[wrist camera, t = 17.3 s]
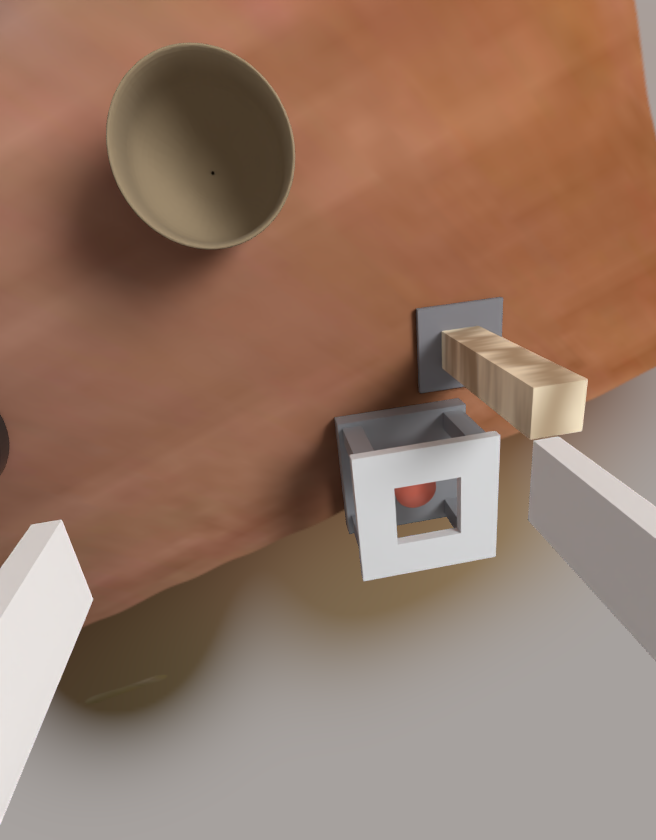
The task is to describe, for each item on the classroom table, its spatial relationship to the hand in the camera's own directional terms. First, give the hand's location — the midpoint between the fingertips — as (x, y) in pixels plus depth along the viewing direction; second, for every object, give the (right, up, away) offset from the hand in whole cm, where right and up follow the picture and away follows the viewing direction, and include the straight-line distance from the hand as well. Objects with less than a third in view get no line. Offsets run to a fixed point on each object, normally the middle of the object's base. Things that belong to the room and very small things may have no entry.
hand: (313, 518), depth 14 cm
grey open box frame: (+9, -2, +42) cm, 43 cm away
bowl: (-10, +25, +28) cm, 39 cm away
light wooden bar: (+14, +10, +37) cm, 41 cm away
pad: (+14, +11, +38) cm, 42 cm away
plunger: (+9, -2, +42) cm, 43 cm away
